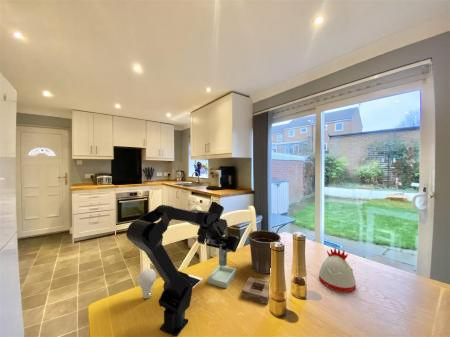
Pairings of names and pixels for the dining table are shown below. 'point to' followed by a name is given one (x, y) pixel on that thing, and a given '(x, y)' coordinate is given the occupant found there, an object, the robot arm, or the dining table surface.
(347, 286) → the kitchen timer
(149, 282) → the light bulb
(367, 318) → the dining table surface
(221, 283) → the tray
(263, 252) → the plant pot
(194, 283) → the cell phone
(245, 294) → the socket block
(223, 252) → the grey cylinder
